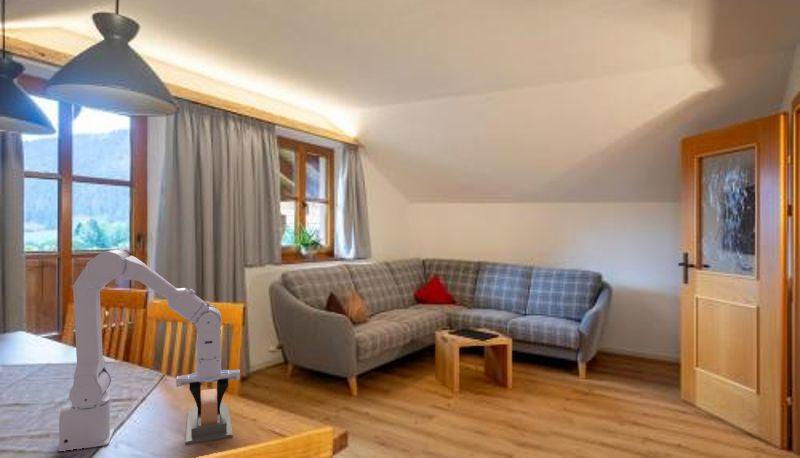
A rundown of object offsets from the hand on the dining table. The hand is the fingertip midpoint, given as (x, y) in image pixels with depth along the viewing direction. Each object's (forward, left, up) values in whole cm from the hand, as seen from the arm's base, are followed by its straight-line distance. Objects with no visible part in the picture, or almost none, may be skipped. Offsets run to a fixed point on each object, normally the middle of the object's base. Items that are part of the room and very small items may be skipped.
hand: (208, 410), depth 117 cm
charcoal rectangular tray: (0, 0, -3) cm, 3 cm away
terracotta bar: (0, 0, -1) cm, 1 cm away
